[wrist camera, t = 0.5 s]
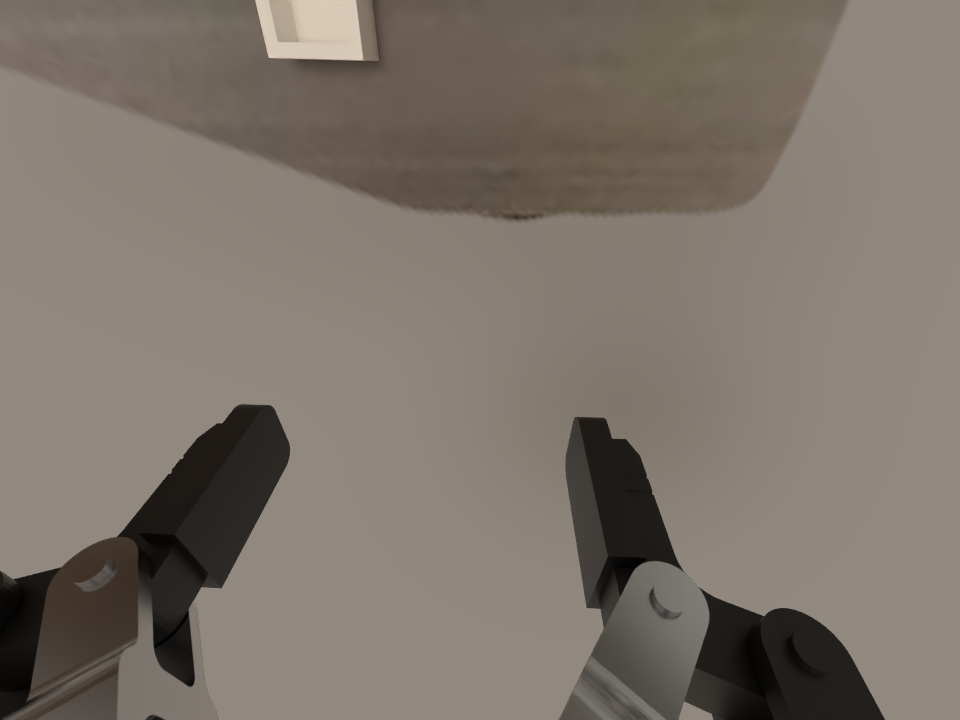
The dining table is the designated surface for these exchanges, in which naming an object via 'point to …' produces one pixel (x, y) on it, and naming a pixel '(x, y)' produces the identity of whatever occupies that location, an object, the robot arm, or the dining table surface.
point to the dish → (319, 29)
